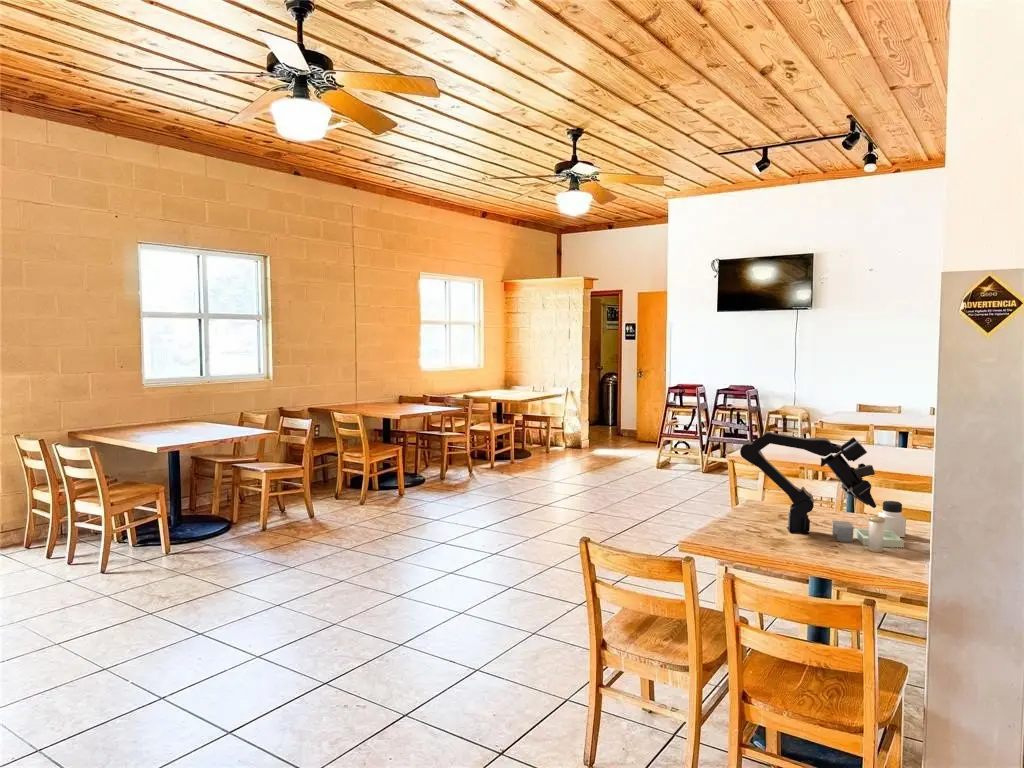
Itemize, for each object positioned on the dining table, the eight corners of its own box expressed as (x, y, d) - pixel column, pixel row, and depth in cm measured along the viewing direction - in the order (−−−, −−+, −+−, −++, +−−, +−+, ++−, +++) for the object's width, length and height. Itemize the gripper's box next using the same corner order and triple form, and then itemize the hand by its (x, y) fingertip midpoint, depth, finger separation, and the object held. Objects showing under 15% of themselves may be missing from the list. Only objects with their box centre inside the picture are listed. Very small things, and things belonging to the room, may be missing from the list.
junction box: (836, 541, 245) (837, 526, 245) (830, 534, 254) (831, 519, 254) (853, 542, 244) (854, 527, 244) (846, 535, 253) (847, 520, 253)
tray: (863, 545, 241) (864, 538, 241) (854, 535, 253) (854, 528, 253) (903, 548, 239) (904, 540, 239) (892, 537, 251) (892, 530, 251)
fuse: (869, 552, 234) (871, 519, 233) (865, 548, 238) (867, 515, 238) (884, 553, 233) (886, 520, 232) (880, 549, 237) (882, 516, 237)
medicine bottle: (905, 538, 251) (906, 504, 250) (883, 536, 252) (884, 503, 251) (898, 532, 258) (900, 499, 257) (877, 531, 259) (878, 498, 258)
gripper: (867, 456, 240) (899, 494, 237) (855, 454, 259) (884, 489, 256) (839, 476, 242) (871, 514, 239) (829, 472, 260) (858, 508, 257)
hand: (871, 505), depth 248 cm, fingers open, 9 cm apart
